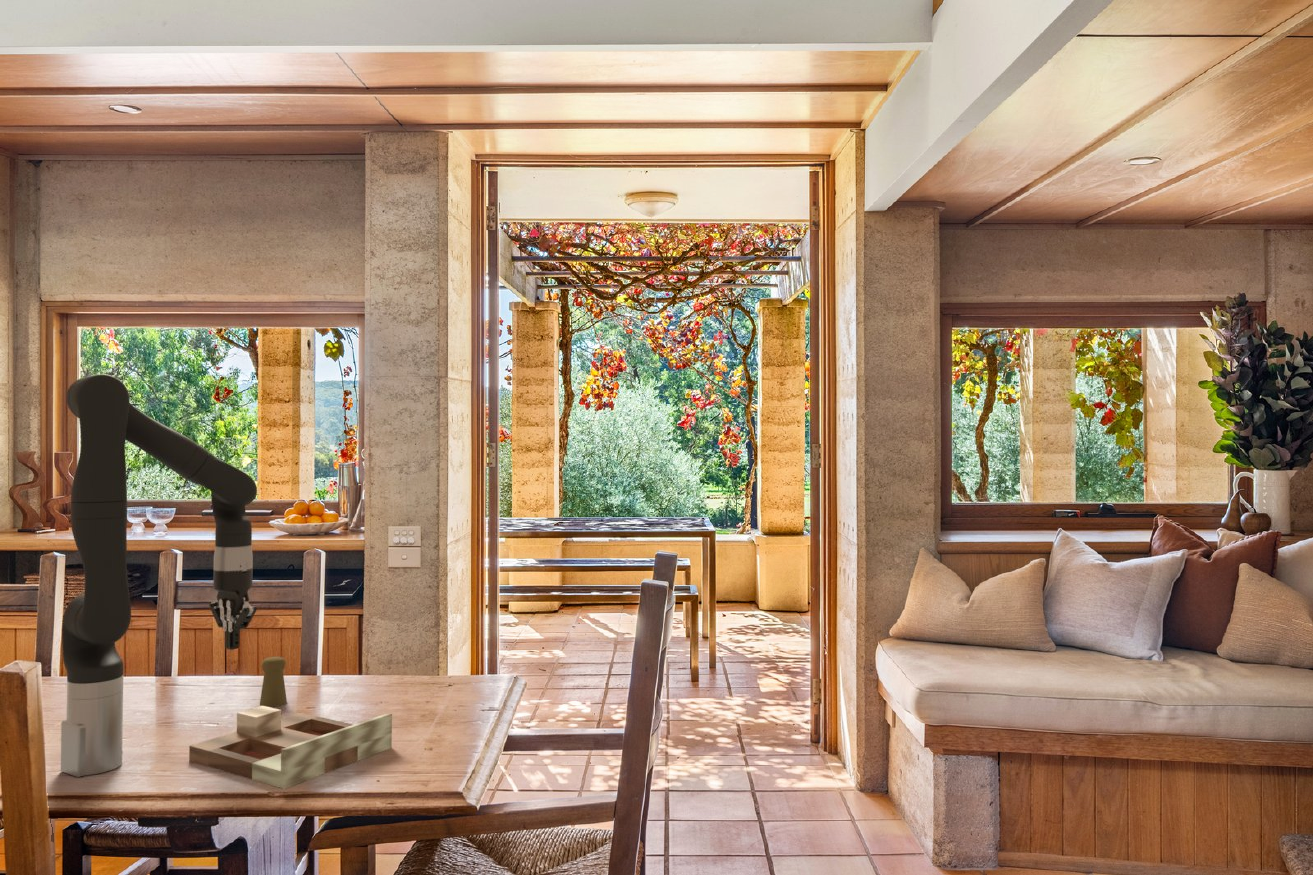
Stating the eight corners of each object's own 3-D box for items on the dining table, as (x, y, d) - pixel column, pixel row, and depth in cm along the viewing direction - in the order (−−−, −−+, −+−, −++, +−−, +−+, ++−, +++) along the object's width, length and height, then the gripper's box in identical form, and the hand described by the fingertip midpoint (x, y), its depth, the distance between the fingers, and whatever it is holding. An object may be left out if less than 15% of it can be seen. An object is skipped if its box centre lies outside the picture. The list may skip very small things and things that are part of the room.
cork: (276, 707, 214) (277, 661, 214) (254, 706, 216) (254, 659, 216) (292, 700, 220) (292, 655, 220) (269, 699, 221) (270, 654, 222)
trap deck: (284, 788, 164) (284, 750, 164) (189, 761, 178) (189, 725, 178) (391, 747, 187) (392, 713, 187) (299, 725, 201) (300, 694, 201)
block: (255, 737, 184) (255, 717, 184) (236, 732, 186) (236, 712, 186) (281, 729, 189) (281, 710, 189) (262, 724, 192) (262, 705, 192)
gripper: (197, 566, 192) (196, 648, 192) (237, 571, 186) (236, 656, 186) (229, 562, 199) (228, 642, 199) (269, 567, 192) (268, 649, 192)
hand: (232, 648), depth 192 cm, fingers closed
